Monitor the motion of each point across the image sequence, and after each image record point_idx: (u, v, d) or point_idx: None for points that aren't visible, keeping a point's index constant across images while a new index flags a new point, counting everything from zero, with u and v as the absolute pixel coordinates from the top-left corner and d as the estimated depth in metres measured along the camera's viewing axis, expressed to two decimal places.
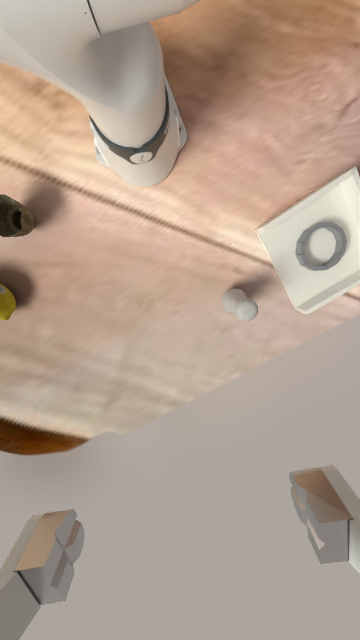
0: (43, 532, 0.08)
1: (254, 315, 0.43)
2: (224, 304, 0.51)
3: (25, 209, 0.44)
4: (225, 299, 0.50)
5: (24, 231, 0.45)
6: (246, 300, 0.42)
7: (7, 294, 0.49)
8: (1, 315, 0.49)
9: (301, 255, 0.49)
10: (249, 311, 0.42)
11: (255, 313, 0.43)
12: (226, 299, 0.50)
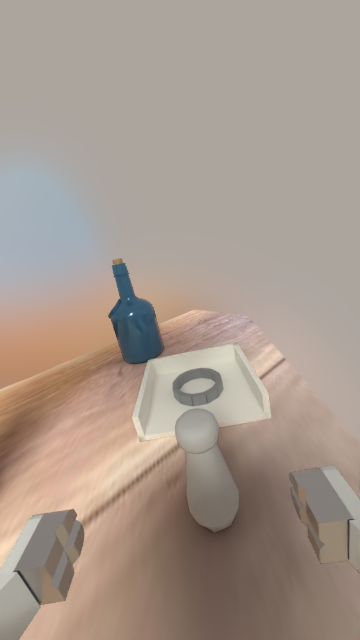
0: (43, 532, 0.08)
1: (208, 413, 0.22)
2: (205, 514, 0.22)
3: None
4: (194, 503, 0.23)
5: None
6: (177, 421, 0.23)
7: None
8: None
9: (193, 396, 0.41)
10: (195, 417, 0.22)
11: (205, 411, 0.23)
12: (193, 498, 0.23)
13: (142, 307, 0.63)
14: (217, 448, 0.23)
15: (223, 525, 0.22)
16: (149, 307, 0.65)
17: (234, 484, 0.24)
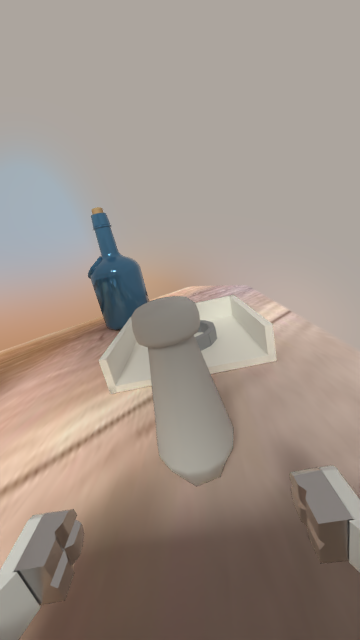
0: (43, 532, 0.08)
1: (183, 297, 0.15)
2: (179, 452, 0.14)
3: None
4: (163, 438, 0.15)
5: None
6: None
7: None
8: None
9: None
10: (163, 300, 0.14)
11: None
12: (162, 431, 0.15)
13: (125, 263, 0.55)
14: (198, 352, 0.15)
15: (208, 470, 0.14)
16: (134, 264, 0.57)
17: (226, 415, 0.16)
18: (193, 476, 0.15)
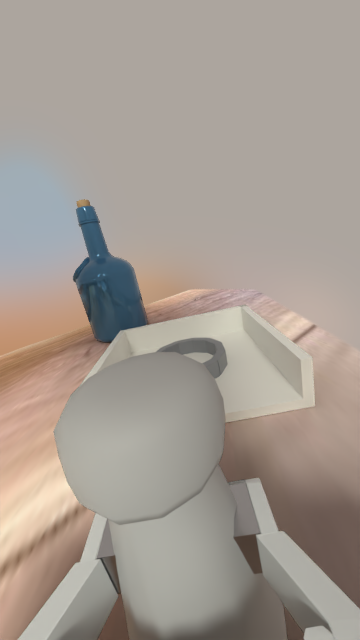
0: None
1: (186, 359, 0.06)
2: None
3: None
4: None
5: None
6: None
7: None
8: None
9: None
10: (138, 371, 0.06)
11: (177, 356, 0.07)
12: None
13: (116, 265, 0.47)
14: (220, 484, 0.06)
15: None
16: (127, 267, 0.49)
17: None
18: None
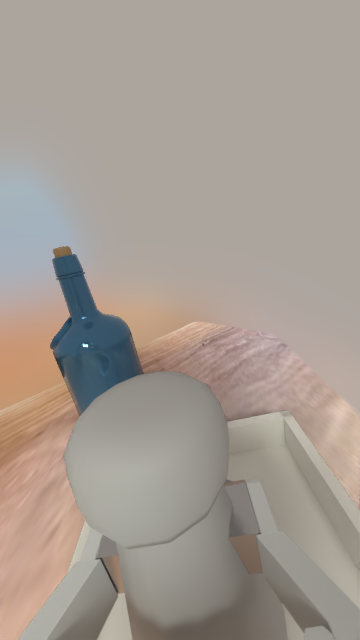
0: None
1: (191, 381, 0.07)
2: None
3: None
4: None
5: None
6: None
7: None
8: None
9: None
10: (145, 394, 0.06)
11: (182, 376, 0.07)
12: None
13: (106, 332, 0.36)
14: (223, 502, 0.07)
15: None
16: (121, 331, 0.38)
17: (273, 599, 0.08)
18: None
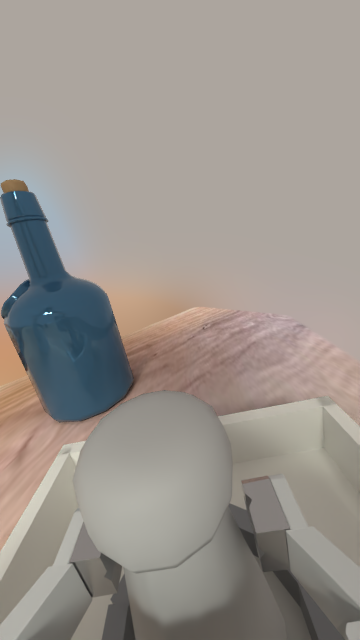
0: None
1: (195, 403, 0.07)
2: None
3: None
4: None
5: None
6: None
7: None
8: None
9: None
10: (150, 417, 0.06)
11: (187, 398, 0.07)
12: None
13: (73, 296, 0.27)
14: (227, 520, 0.07)
15: None
16: (94, 297, 0.29)
17: (275, 612, 0.08)
18: None
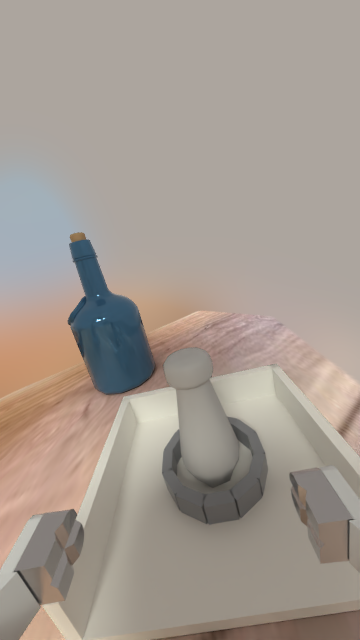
0: (43, 532, 0.08)
1: (200, 349, 0.20)
2: (200, 463, 0.20)
3: None
4: (188, 452, 0.20)
5: None
6: None
7: None
8: None
9: (206, 504, 0.18)
10: (186, 353, 0.20)
11: (197, 348, 0.20)
12: (186, 447, 0.20)
13: (117, 307, 0.40)
14: (212, 389, 0.20)
15: (221, 475, 0.20)
16: (130, 307, 0.42)
17: (233, 433, 0.21)
18: (210, 480, 0.20)
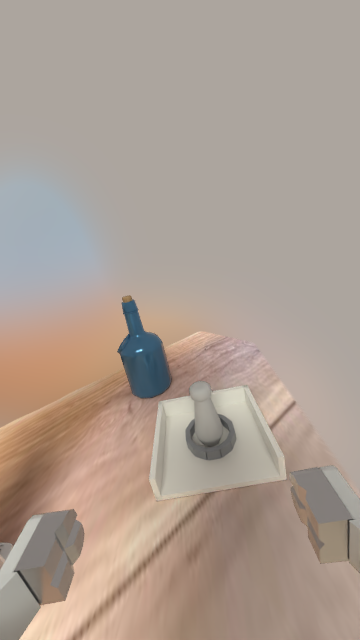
0: (43, 532, 0.08)
1: (206, 382, 0.44)
2: (204, 434, 0.43)
3: None
4: (199, 430, 0.44)
5: None
6: (190, 387, 0.44)
7: None
8: None
9: (207, 451, 0.42)
10: (199, 384, 0.43)
11: (204, 382, 0.44)
12: (198, 427, 0.44)
13: (151, 344, 0.64)
14: (211, 401, 0.44)
15: (214, 440, 0.43)
16: (158, 343, 0.66)
17: (220, 422, 0.45)
18: (209, 442, 0.44)
